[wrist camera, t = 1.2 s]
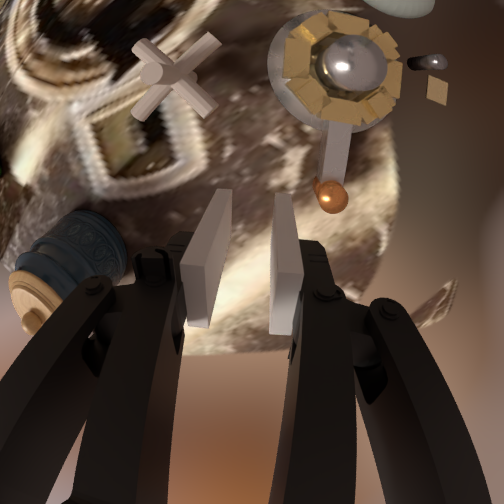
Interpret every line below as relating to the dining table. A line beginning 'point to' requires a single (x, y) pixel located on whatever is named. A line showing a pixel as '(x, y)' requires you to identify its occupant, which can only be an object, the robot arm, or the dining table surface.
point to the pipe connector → (173, 76)
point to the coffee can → (3, 5)
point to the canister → (64, 265)
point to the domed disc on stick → (333, 109)
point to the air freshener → (403, 7)
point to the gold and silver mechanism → (344, 70)
